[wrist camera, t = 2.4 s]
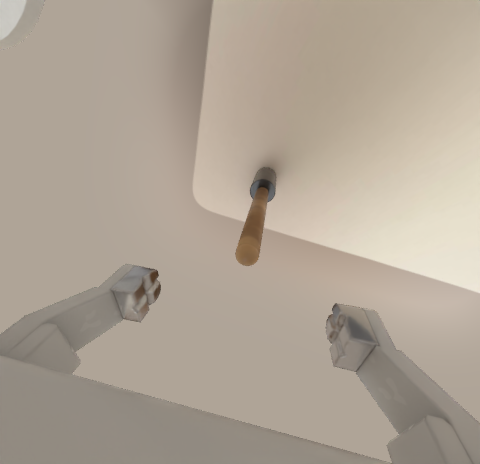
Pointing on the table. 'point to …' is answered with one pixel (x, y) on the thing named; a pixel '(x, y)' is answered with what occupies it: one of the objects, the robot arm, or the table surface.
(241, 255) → the bottle brush
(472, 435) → the robot arm
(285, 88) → the table surface
